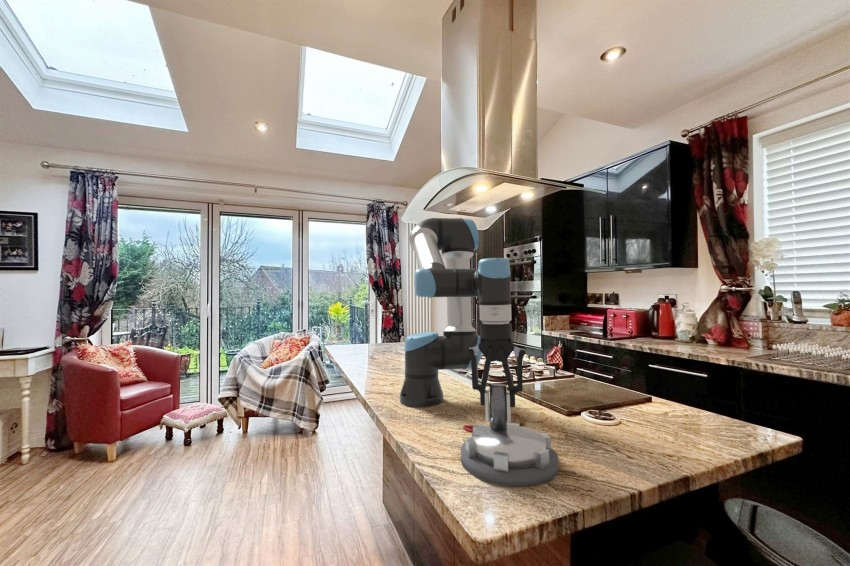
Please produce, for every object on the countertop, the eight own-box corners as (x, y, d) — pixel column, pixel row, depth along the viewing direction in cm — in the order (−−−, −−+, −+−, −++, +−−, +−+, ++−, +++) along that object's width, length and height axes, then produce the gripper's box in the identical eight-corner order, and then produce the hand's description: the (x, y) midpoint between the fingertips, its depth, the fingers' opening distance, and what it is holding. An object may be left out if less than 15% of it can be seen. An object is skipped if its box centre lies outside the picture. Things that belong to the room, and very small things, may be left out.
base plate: (468, 437, 92) (468, 428, 92) (554, 446, 87) (554, 437, 87) (452, 478, 72) (452, 467, 72) (563, 493, 66) (563, 481, 66)
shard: (513, 433, 96) (513, 426, 96) (487, 427, 101) (487, 420, 101) (527, 421, 105) (527, 415, 105) (502, 416, 110) (502, 410, 110)
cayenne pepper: (457, 427, 101) (457, 420, 101) (472, 424, 103) (472, 418, 103) (479, 443, 90) (479, 436, 90) (495, 440, 92) (495, 433, 92)
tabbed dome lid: (457, 438, 87) (457, 384, 87) (530, 433, 89) (529, 380, 90) (479, 474, 69) (478, 406, 70) (568, 467, 72) (567, 402, 72)
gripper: (457, 323, 85) (459, 422, 84) (533, 324, 80) (536, 428, 80) (462, 320, 92) (464, 411, 92) (532, 320, 88) (535, 416, 87)
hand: (498, 419), depth 86 cm, fingers open, 4 cm apart
